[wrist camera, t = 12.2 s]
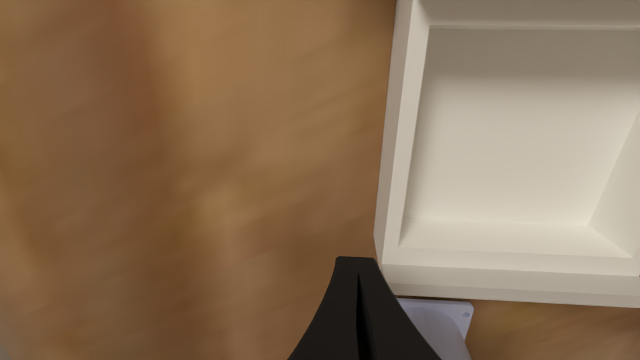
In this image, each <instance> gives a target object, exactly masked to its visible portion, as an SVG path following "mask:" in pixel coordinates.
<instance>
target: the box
mask: <svg viewBox="0 0 640 360" xmlns="http://www.w3.org/2000/svg"><path fill="white" fill-rule="evenodd" d="M373 236H374V241H375V247H376V253H377V258H378V264H379V268H380V270H381V272H382V274H383V276H384V278H385V280H386V282H387V283H388V285H389V287H390V289H391V290H392V292H393V294H394V295H408V296H427V297H446V298H464V299H483V300H502V301H521V302H539V303H558V304H577V305H595V306H614V307H633V308H640V277H639V275H640V0H397V3H396V13H395V23H394V33H393V43H392V54H391V64H390V74H389V84H388V94H387V104H386V114H385V124H384V134H383V144H382V154H381V164H380V174H379V185H378V195H377V205H376V215H375V225H374V235H373Z"/></svg>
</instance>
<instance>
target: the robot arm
mask: <svg viewBox="0 0 640 360" xmlns="http://www.w3.org/2000/svg"><path fill="white" fill-rule="evenodd" d="M473 312H474V307H473V305H472V304H471V303H470V302H460V301H442V300H423V299H405V298H396V297H395V295H394V294H393V292H392V290H391V289H390V287H389V285H388V283H387V282H386V280H385V278H384V276H383V274H382V272H381V270H380V268H379V266H378V264H377V262H376V260H375V259H374V258H366V257H345V256H339V257H337V258H336V262H335V268H334V271H333V275H332V278H331V281H330V283H329V286H328V288H327V291H326V293H325V295H324V298H323V300H322V302H321V304H320V306H319V308H318V310H317V312H316V314H315V316H314V318H313V320H312V322H311V323H310V325H309V327H308V329H307V330H306V332H305V334H304V335H303V337H302V339H301V340H300V342H299V343H298V345H297V347H296V348H295V349H294V351H293V352H292V354H291V355H290V357H289V358H288V360H472V359H471V356H470V354H469V352H468V349H467V347H466V344H465V342H464V341H465V338H466V335H467V331H468V328H469V325H470V322H471V318H472V315H473Z"/></svg>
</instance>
